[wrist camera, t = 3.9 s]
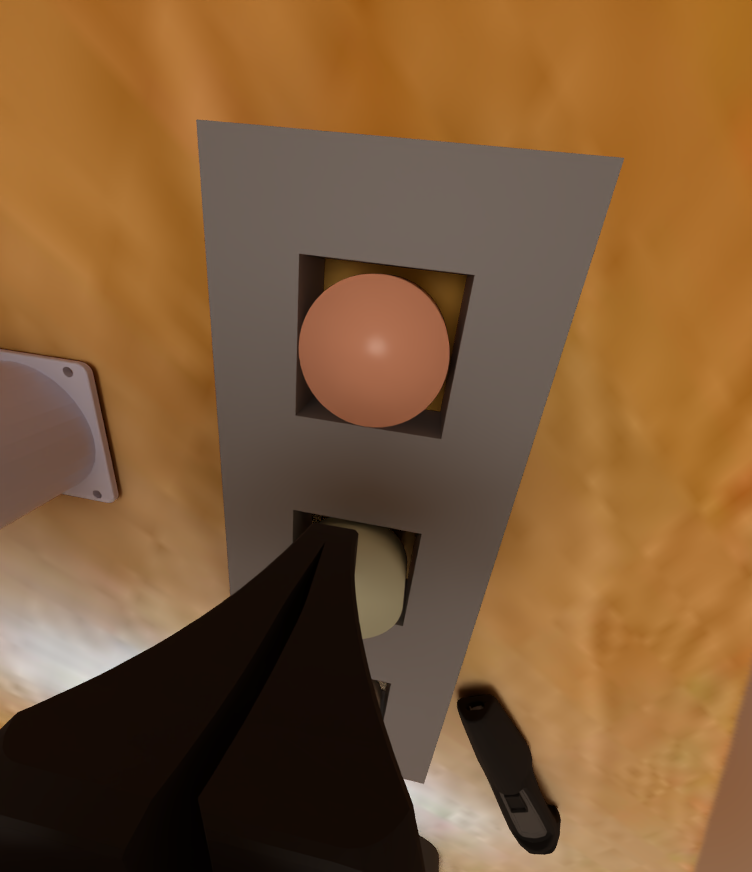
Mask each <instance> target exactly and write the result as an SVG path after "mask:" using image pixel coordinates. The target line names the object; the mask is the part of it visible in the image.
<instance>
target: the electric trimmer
mask: <svg viewBox="0 0 752 872" xmlns="http://www.w3.org/2000/svg"><path fill="white" fill-rule="evenodd" d="M457 709H458V712H459V715H460V718H461V721H462V723H463V726H464V728H465V730H466V733H467V735H468V738H469V740H470V743H471V745H472V748H473V750H474V752H475V755H476V757H477V759H478V761H479V763H480V765H481V767H482V769H483V771H484V773H485V775H486V777H487V779H488V781H489V783H490V785H491V788H492V790H493V792H494V795H495V797H496V799H497V802H498V804H499V807H500V809H501V811H502V814H503V816H504V818H505V820H506V822H507V825H508V827H509V829H510V830H511V832H512V834H513V835H514V837H515V838H516V840H517V841H518V843H519V844H520V845H521V846H522V847H523V848H524V849H525V850H527V851H528V852H529V853H531V854H544V855H545V854H550V853H552V852H553V851H554V850H555V848H556V846H557V842H558V839H559V836H560V823H561V819H560V814H559V812H558V810H557V808H556V806H554V805H553V806H551V805H547V804H546V802H545V800H544V798H543V796H542V794H541V792H540V789H539V787H538V784H537V781H536V778H535V776H534V772H533V767H532V756H531V752H530V749H529V747H528V745H527V743H526V742H525V740H524V738H523V737H522V735H521V734H520V732H519V731H518V730H517V728H516V727H515V725H514V724H513V722H512V721H511V719H510V718H509V716H508V715H507V714H506V712H505V711H504V709H503V708H502V706H501V705H500V703H499V702H498V701H497V699H496V698H495V697H494V696H492V695H482V696H474V697H466V698H461V699H459V700H458V702H457Z"/></svg>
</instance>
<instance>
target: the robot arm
mask: <svg viewBox="0 0 752 872" xmlns="http://www.w3.org/2000/svg"><path fill="white" fill-rule="evenodd" d="M70 369H71V370H72V372H73V373H72V372H71V370H70ZM60 494H65V495H70V496H75V497H80V498H85V499H91V500H96V501H101V502H106V503H112V502H113V501H115V500H116V499H117V498H118V495H119V494H118V489H117V485H116V480H115V475H114V470H113V466H112V461H111V456H110V451H109V447H108V442H107V437H106V432H105V428H104V423H103V418H102V413H101V409H100V404H99V399H98V394H97V390H96V385H95V380H94V376H93V372H92V369H91V368H90V367H89V366H88V365H87V364H86V363H84V362H80V361H74V360H67V359H61V358H55V357H48V356H42V355H36V354H29V353H23V352H17V351H10V350H4V349H0V529H1V528H3V527H5V526H7V525H8V524H10V523H12V522H13V521H15V520H17V519H19V518H20V517H22V516H24V515H25V514H27V513H29V512H31V511H32V510H34V509H36V508H38V507H39V506H41V505H43V504H44V503H46V502H48V501H50V500H51V499H53V498H55V497H56V496H58V495H60ZM358 535H359V534H358V532H357V531H356V530H354V529H349V528H343V527H337V526H332V525H326V524H320V523H315V522H314V523H313V524H311V525H310V526H309V527H308V528H307V529H306V530H305V531H304V532H303V533H302V534H301V535H300V536H299V537H298V538H297V539H296V540H295V541H294V542H293V543H292V544H291V545H290V546H289V547H288V548H287V549H286V550H285V551H284V552H283V553H282V554H280V555H279V556H278V557H277V558H276V559H275V560H274V561H273V562H271V563H270V564H269V565H268V566H267V567H266V568H265V569H264V570H262V571H261V572H260V573H259V574H258V575H256V576H255V577H254V578H253V579H251V580H250V581H249V582H248V583H246V584H245V585H244V586H243V587H241V588H240V589H239V590H238V591H236V592H235V593H234V594H233V595H231V596H230V597H229V598H227V599H226V600H224V601H223V602H222V603H220V604H219V605H218V606H216V607H215V608H213V609H212V610H210V611H209V612H207V613H206V614H205V615H203V616H202V617H200V618H199V619H197V620H195V621H194V622H192V623H191V624H189V625H188V626H186V627H184V628H183V629H181V630H180V631H178V632H176V633H175V634H173V635H172V636H170V637H168V638H167V639H165V640H163V641H162V642H160V643H158V644H157V645H155V646H153V647H151V648H149V649H148V650H146V651H144V652H142V653H140V654H138V655H136V656H135V657H133V658H131V659H129V660H127V661H125V662H123V663H122V664H120V665H118V666H116V667H114V668H112V669H110V670H108V671H107V672H105V673H103V674H101V675H99V676H97V677H94V678H92V679H90V680H88V681H86V682H84V683H82V684H80V685H78V686H75V687H73V688H71V689H69V690H67V691H65V692H62V693H60V694H58V695H56V696H54V697H51V698H49V699H47V700H45V701H43V702H40V703H38V704H36V705H34V706H32V707H29V708H27V709H25V710H22V711H20V712H18V713H17V714H16V715H14V716H13V717H12V718H11V719H10V720H9V721H8V722H7V723H6V724H5V725H4V726H3V727H2V728H1V729H0V872H426V870H425V864H424V859H423V854H422V848H421V843H420V838H419V833H418V829H417V824H416V819H415V813H414V807H413V804H412V801H411V798H410V795H409V793H408V790H407V787H406V785H405V782H404V779H403V777H402V774H401V771H400V768H399V765H398V763H397V760H396V757H395V754H394V751H393V748H392V745H391V742H390V739H389V736H388V733H387V730H386V727H385V724H384V721H383V717H382V714H381V710H380V707H379V703H378V700H377V696H376V693H375V689H374V686H373V682H372V679H371V675H370V670H369V666H368V662H367V658H366V653H365V648H364V644H363V639H362V633H361V628H360V622H359V615H358V608H357V600H356V590H355V566H356V556H357V546H358Z"/></svg>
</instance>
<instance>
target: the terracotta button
mask: <svg viewBox="0 0 752 872" xmlns="http://www.w3.org/2000/svg"><path fill="white" fill-rule="evenodd" d="M299 359H300V365H301V369H302V372H303V375H304V378H305V380H306V382H307V384H308V386H309V388H310V390H311V391H312V393H313V394H314V396H315V397H316V398H317V400H318V401H319V402H320V403H321V404H322V405H323V406H324V407H325V408H326V409H328V410H329V411H330V412H331V413H333V414H334V415H336V416H337V417H339V418H341V419H343V420H345V421H347V422H350V423H353V424H355V425H360V426H364V427H388V426H393V425H397V424H401V423H403V422H405V421H408V420H410V419H412V418H413V417H415V416H417V415H418V414H419V413H421V412H422V411H423V410H425V409H426V408H427V407H428V406H429V405H430V404H431V402H432V401H433V400H434V399H435V397H436V396H437V394H438V393H439V391H440V389H441V387H442V385H443V383H444V380H445V378H446V374H447V371H448V366H449V341H448V335H447V330H446V325H445V322H444V318H443V316H442V314H441V311H440V309H439V308H438V306H437V304H436V303H435V301H434V300H433V299H432V298H431V296H430V295H429V294H428V293H427V292H426V291H425V290H424V289H422V288H421V287H420V286H418V285H417V284H415V283H413V282H412V281H410V280H408V279H405V278H402V277H399V276H394V275H388V274H362V275H357V276H352V277H349V278H346V279H344V280H341V281H339V282H337V283H336V284H334V285H332V286H331V287H329V288H328V289H327V290H326V291H324V292H323V293H322V294H321V295H320V296H319V297H318V298H317V299H316V300H315V302H314V303H313V305H312V306H311V307H310V309H309V311H308V313H307V315H306V317H305V319H304V322H303V325H302V328H301V332H300V337H299Z"/></svg>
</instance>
